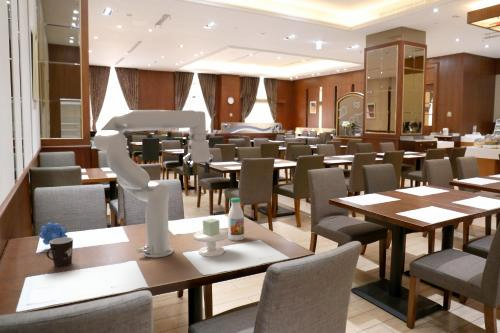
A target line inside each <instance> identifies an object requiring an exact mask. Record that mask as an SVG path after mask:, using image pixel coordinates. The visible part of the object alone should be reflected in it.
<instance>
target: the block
mask: <svg viewBox="0 0 500 333" xmlns="http://www.w3.org/2000/svg"><path fill="white" fill-rule="evenodd" d="M219 229H220V220H219V219H216V218H207V219H204V220H202V230H203V234H205V235H208V236H214V235H217V234H220V231H219Z"/></svg>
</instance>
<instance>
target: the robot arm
mask: <svg viewBox="0 0 500 333" xmlns="http://www.w3.org/2000/svg"><path fill="white" fill-rule="evenodd" d="M171 129H189V135H188V136H187V138H188V140H189V141H188V146H187V154H186V155H185V156H184V157H183V158H182V160H183V162H184V164H185V165H186V167H187V175H188V176H194V172H195V171H194V167H193V166H194V164H196V163H204V166H203V169H204V172H203V173H205V174H210V173H211V171H210V170H211V169H210V168H211V167H210V165H211V164H212V161H213V158H214V155H213V154H212V153H211V152H210V145H209V142H208V140H207V134H206V133H207V130H206V129H207V126H206V113H205V111H200V110H196V111H195V110H191V109H190V110H187V109H185V110H167V109H166V110H165V109H138V110H137V109H132V110H131V109H130V110H120V111H116V113H114V114H113V115H112V116H111V117H110V118H109V119H108V120H107V121H106V122H105V123H104V124H103V126H101V127H100V128H99V129H98V131H97V132H96V133H95V135H94V137H93V145H94V146H95V148H96V149H97V150H98V151H101V152H105V153H106V156H105V157H106V163H107V166H108V168H109V169H110V170H111V171H112V172H113V174H115V175H116V177H115V178H116V182H117V184H118V185H120V187H121V188H122V189H123V190H125V191H127V193H129V194H130V195H131V196H133V197H134V198H136V199H137V200H140V201H142V202H146V203H147V204H146V207H145V214H144V218H145V233H146V234H145V235H146V237H145V238H146V243H145V244H144V246H143V247H140V248H137V249H136V253H137V254H141V253H142V254H143V256H145V257H146V258H164V257H167V256H168V257H169V256H170V255H172V254H173V252H174V248H172V247H171V246H170V233H169V232H170V231H169V199H170V190H169V188H168V186H167V185H166V184H165V183H163V182H160V181H155V180H151V178H150V175H149V173H148V172H147V171H146V170H145V169H144V168H143V167H141V166H140V165H139V164H138V163H137V162H135V161H134V160H133V159H132V158H131V157H130V156H129V154H128V139H127V137H126V135H125V134H124V133H125V132H144V131H146V132H147V131H163V130H171Z"/></svg>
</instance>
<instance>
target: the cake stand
mask: <svg viewBox="0 0 500 333" xmlns="http://www.w3.org/2000/svg"><path fill="white" fill-rule="evenodd" d="M219 231H220V234H217V235H214V236H208V235H205V234H203V229H202V230H198V231H196V232H195V233H194V234H193V240H195V241H197V242H202V243H203V242H204V243H206V246H203V247H201V248H200V249H198V255H199V256H202V257H205V258H214V257H219V256H221V255H224V253H225V248H224V247H222V246H218V245H217V242H220V241H225V240H226V239H229V236H228V230H225V229H220V228H219Z"/></svg>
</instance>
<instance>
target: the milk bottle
mask: <svg viewBox="0 0 500 333" xmlns="http://www.w3.org/2000/svg"><path fill="white" fill-rule="evenodd" d="M230 204H231V206H230V209H229V211H228V214H227V215H228V216H227V219H228V220H227V221H228V222H227V223H228V224H227V226H228V229H227V232H228V240H230V241H233V242H234V241H235V242H236V241H243V240H244V239H245V214H244V211H243V209H242V206H241V197H231V198H230Z"/></svg>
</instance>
